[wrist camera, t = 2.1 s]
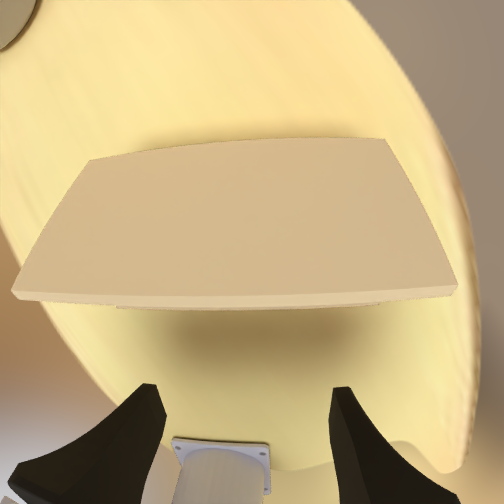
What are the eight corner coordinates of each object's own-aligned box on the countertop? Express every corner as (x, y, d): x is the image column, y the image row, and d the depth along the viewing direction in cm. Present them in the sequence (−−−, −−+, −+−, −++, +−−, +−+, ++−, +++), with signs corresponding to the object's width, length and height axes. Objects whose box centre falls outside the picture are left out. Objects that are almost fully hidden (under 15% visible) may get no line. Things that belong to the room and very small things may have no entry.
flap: (451, 295, 6) (458, 284, 5) (18, 299, 7) (10, 290, 6) (383, 148, 10) (384, 138, 9) (93, 168, 11) (89, 160, 10)
